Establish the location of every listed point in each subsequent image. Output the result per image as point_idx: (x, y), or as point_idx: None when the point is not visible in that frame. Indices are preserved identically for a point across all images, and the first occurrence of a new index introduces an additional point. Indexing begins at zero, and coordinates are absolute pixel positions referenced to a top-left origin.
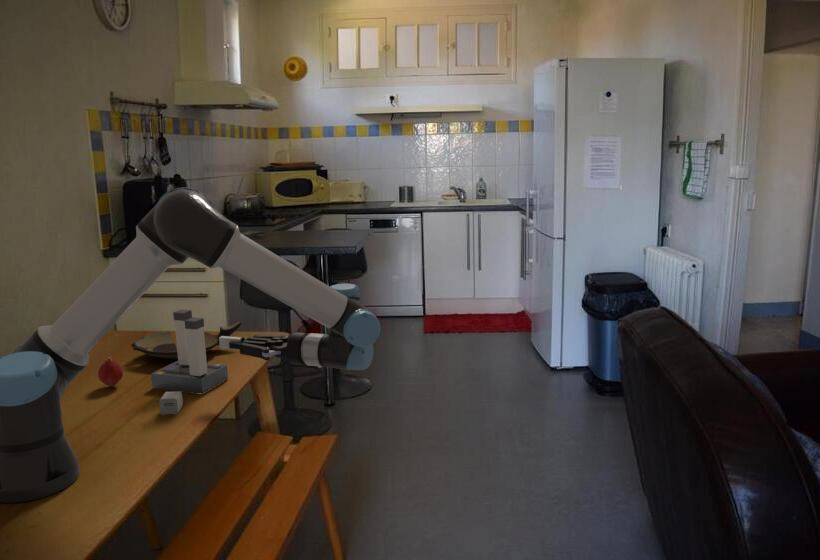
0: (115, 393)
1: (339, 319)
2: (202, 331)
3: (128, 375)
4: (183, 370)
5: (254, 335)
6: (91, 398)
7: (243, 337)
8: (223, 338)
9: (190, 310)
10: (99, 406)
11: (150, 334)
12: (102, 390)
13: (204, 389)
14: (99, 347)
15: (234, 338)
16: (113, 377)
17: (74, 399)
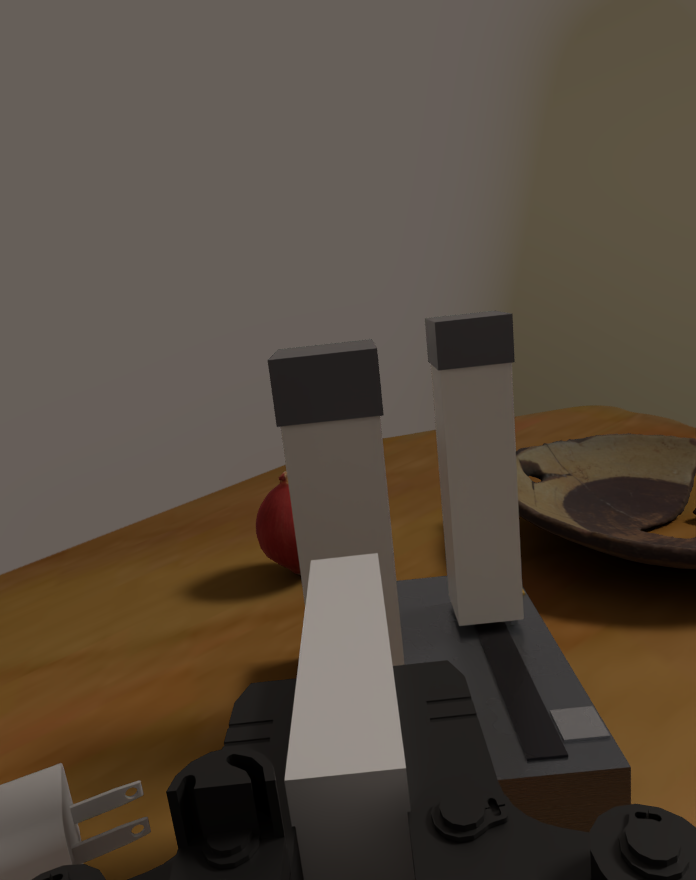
0: (248, 605)
1: None
2: (364, 456)
3: (410, 550)
4: (403, 645)
5: (627, 828)
6: (195, 589)
7: (261, 772)
8: (308, 592)
9: (504, 314)
10: (121, 636)
11: (622, 434)
12: (267, 573)
13: None
14: (540, 442)
15: (315, 668)
16: (271, 545)
17: (184, 570)
